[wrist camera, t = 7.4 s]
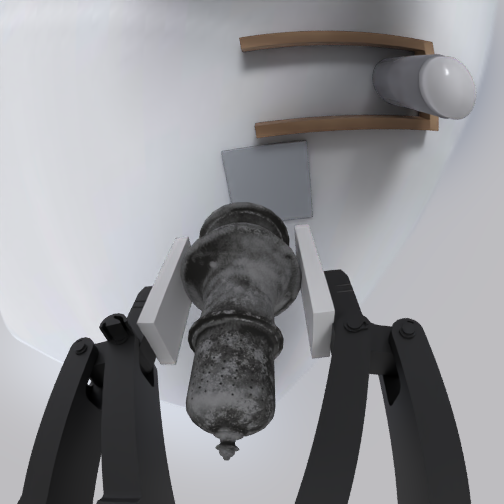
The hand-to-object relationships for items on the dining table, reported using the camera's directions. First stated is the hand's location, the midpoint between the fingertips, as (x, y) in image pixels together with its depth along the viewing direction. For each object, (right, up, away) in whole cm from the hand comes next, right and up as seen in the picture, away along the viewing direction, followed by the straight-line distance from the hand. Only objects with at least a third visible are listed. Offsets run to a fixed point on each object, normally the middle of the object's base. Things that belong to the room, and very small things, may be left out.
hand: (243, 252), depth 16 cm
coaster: (+2, +8, +15) cm, 17 cm away
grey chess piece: (0, +1, +1) cm, 1 cm away
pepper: (+16, +18, +7) cm, 25 cm away
